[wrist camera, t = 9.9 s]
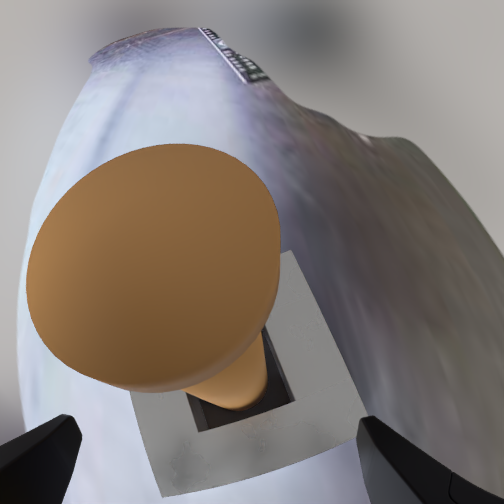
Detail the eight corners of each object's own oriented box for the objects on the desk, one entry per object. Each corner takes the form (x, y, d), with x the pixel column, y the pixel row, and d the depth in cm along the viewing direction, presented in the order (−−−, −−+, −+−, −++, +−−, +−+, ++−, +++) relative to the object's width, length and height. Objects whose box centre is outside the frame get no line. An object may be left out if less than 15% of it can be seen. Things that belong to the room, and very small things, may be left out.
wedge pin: (231, 434, 16) (88, 443, 3) (183, 375, 18) (9, 233, 5) (292, 385, 17) (345, 246, 5) (242, 330, 19) (181, 117, 7)
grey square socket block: (178, 488, 14) (162, 497, 12) (133, 326, 20) (113, 309, 17) (358, 428, 16) (373, 428, 13) (289, 273, 21) (291, 249, 19)
